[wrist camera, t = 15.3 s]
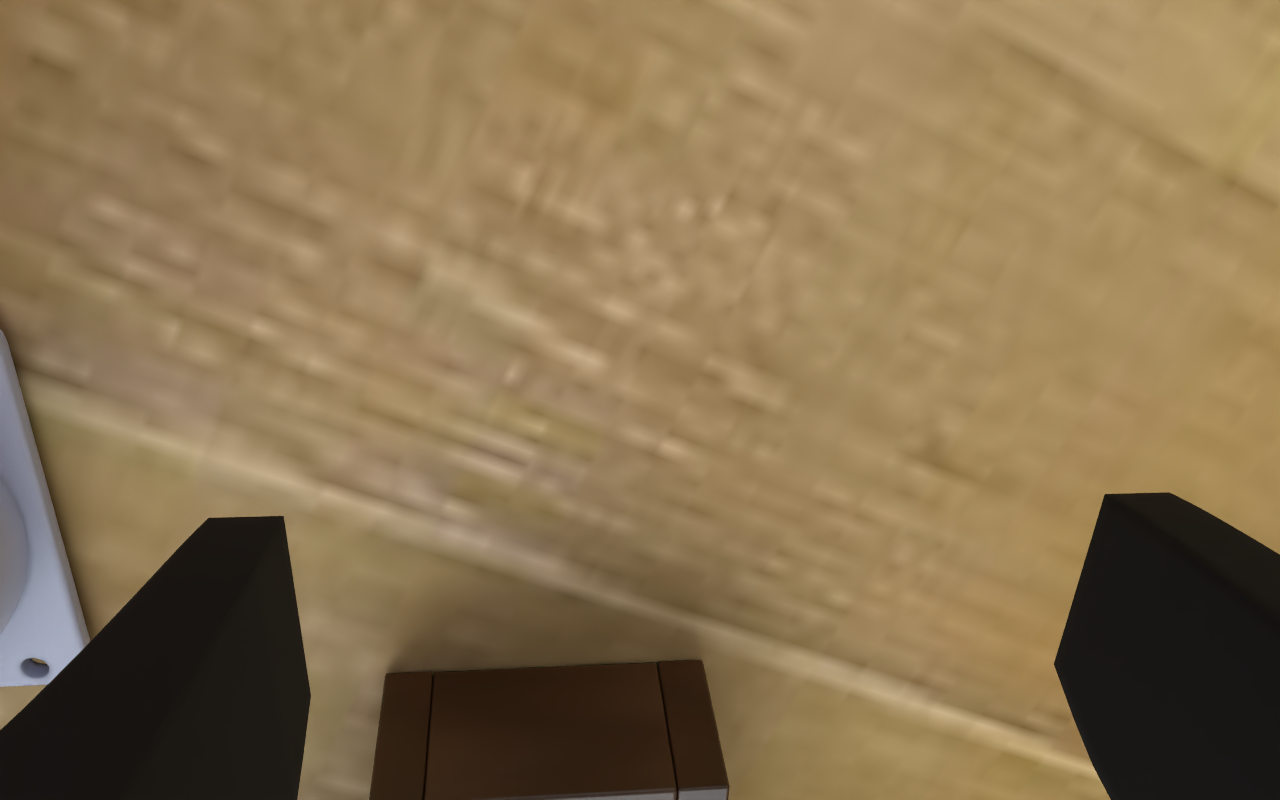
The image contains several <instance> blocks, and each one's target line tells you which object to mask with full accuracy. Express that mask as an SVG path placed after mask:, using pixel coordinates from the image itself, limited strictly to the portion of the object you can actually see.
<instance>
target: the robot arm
mask: <svg viewBox="0 0 1280 800" xmlns="http://www.w3.org/2000/svg"><path fill="white" fill-rule="evenodd" d="M31 658H37V659H41V660H42V661H44V662H46V663H47V664H42V663H37V662H35V661H33V660H32V659H31ZM1054 666H1055V668H1056V671H1057V674H1058V677H1059V679H1060V682H1061V685H1062V687H1063V690H1064V693H1065V696H1066V698H1067V701H1068V704H1069V707H1070V709H1071V712H1072V715H1073V718H1074V720H1075V723H1076V725H1077V728H1078V730H1079V732H1080V735H1081V737H1082V740H1083V742H1084V745H1085V747H1086V750H1087V752H1088V754H1089V757H1090V759H1091V762H1092V764H1093V766H1094V768H1095V770H1096V772H1097V774H1098V776H1099V778H1100V780H1101V782H1102V784H1103V785H1104V787H1105V789H1106V791H1107V793H1108V795H1109V797H1110V799H1111V800H1280V555H1279V554H1278V553H1276V552H1274V551H1273V550H1271V549H1269V548H1268V547H1266V546H1264V545H1263V544H1261V543H1259V542H1258V541H1256V540H1254V539H1253V538H1251V537H1249V536H1248V535H1246V534H1244V533H1243V532H1241V531H1239V530H1237V529H1236V528H1234V527H1232V526H1231V525H1229V524H1227V523H1226V522H1224V521H1222V520H1220V519H1218V518H1217V517H1215V516H1213V515H1211V514H1210V513H1208V512H1206V511H1204V510H1202V509H1201V508H1199V507H1197V506H1195V505H1193V504H1191V503H1189V502H1187V501H1185V500H1183V499H1181V498H1179V497H1177V496H1175V495H1173V494H1171V493H1133V494H1105V495H1104V499H1103V502H1102V506H1101V509H1100V512H1099V516H1098V519H1097V522H1096V526H1095V529H1094V532H1093V536H1092V539H1091V542H1090V546H1089V549H1088V552H1087V556H1086V559H1085V562H1084V566H1083V569H1082V572H1081V576H1080V579H1079V582H1078V586H1077V589H1076V592H1075V596H1074V599H1073V602H1072V606H1071V609H1070V612H1069V616H1068V619H1067V622H1066V626H1065V629H1064V632H1063V636H1062V639H1061V642H1060V646H1059V649H1058V652H1057V656H1056V659H1055V662H1054ZM30 685H47V686H46V687H45V688H44V689H43V690H42V691H41V692H40V693H39V694H38V695H37V696H36V697H35V698H34V699H33V700H32V701H31V702H30V703H29V704H28V705H27V706H26V707H25V708H24V709H23V710H22V711H20V712H19V713H18V714H17V715H16V716H15V717H14V718H13V719H12V720H11V721H10V722H9V723H8V724H7V725H5V726H4V727H3V728H2V729H1V730H0V800H297V795H298V789H299V782H300V775H301V768H302V761H303V753H304V745H305V737H306V729H307V722H308V714H309V706H310V698H311V694H310V687H309V681H308V674H307V668H306V661H305V654H304V648H303V641H302V635H301V628H300V622H299V615H298V608H297V602H296V595H295V589H294V582H293V576H292V569H291V562H290V556H289V549H288V543H287V536H286V530H285V523H284V516H267V517H230V518H208V519H207V520H206V521H205V522H204V523H203V524H202V525H201V526H200V527H199V528H198V529H197V530H196V531H195V532H194V533H193V534H192V535H191V536H190V537H189V538H188V539H187V540H186V541H185V542H184V543H183V544H182V545H181V546H180V547H179V548H178V549H177V550H176V552H175V553H174V554H173V555H172V556H171V557H170V558H169V559H168V560H167V561H166V562H165V563H164V564H163V565H162V567H161V568H160V569H159V570H158V571H157V572H156V573H155V574H154V575H153V576H152V577H151V578H150V579H149V580H148V582H147V583H146V584H145V585H144V586H143V587H142V588H141V589H140V590H139V591H138V592H137V593H136V594H135V595H134V597H133V598H132V599H131V600H130V601H129V602H128V603H127V604H126V605H125V606H124V607H123V608H122V609H121V610H120V611H119V612H118V613H117V614H116V616H115V617H114V618H113V619H112V620H111V621H110V622H109V623H108V624H107V625H106V626H105V627H104V628H103V629H102V630H101V631H100V632H99V633H98V634H97V635H96V636H95V637H94V638H93V639H92V640H91V641H90V638H89V634H88V630H87V627H86V623H85V620H84V616H83V612H82V609H81V605H80V601H79V598H78V594H77V591H76V587H75V583H74V580H73V576H72V573H71V569H70V565H69V562H68V558H67V555H66V551H65V547H64V544H63V540H62V536H61V533H60V529H59V526H58V522H57V518H56V515H55V511H54V508H53V504H52V500H51V497H50V493H49V489H48V486H47V482H46V479H45V475H44V471H43V468H42V464H41V461H40V457H39V453H38V450H37V446H36V443H35V439H34V435H33V432H32V428H31V424H30V421H29V417H28V414H27V410H26V406H25V403H24V399H23V396H22V392H21V388H20V385H19V381H18V378H17V374H16V370H15V367H14V363H13V359H12V356H11V352H10V349H9V345H8V341H7V339H6V337H5V335H4V334H3V332H2V330H1V329H0V687H7V686H30Z"/></svg>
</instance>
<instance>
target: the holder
mask: <svg viewBox="0 0 1280 800" xmlns="http://www.w3.org/2000/svg"><path fill="white" fill-rule="evenodd" d="M728 795H729V782H728V778H727V773H726V768H725V763H724V759H723V754H722V749H721V745H720V740H719V735H718V730H717V726H716V721H715V716H714V711H713V707H712V702H711V697H710V693H709V688H708V683H707V678H706V674H705V669H704V664H703V661H702V660H687V661H664V662H659V663H658V666H657V665H656V663H634V664H611V665H589V666H566V667H544V668H521V669H499V670H476V671H454V672H437V673H435V674H434V676H433V673H432V672H414V673H391V674H386V676H385V682H384V689H383V697H382V705H381V712H380V720H379V728H378V736H377V743H376V751H375V759H374V766H373V774H372V782H371V790H370V797H369V800H728Z"/></svg>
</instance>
